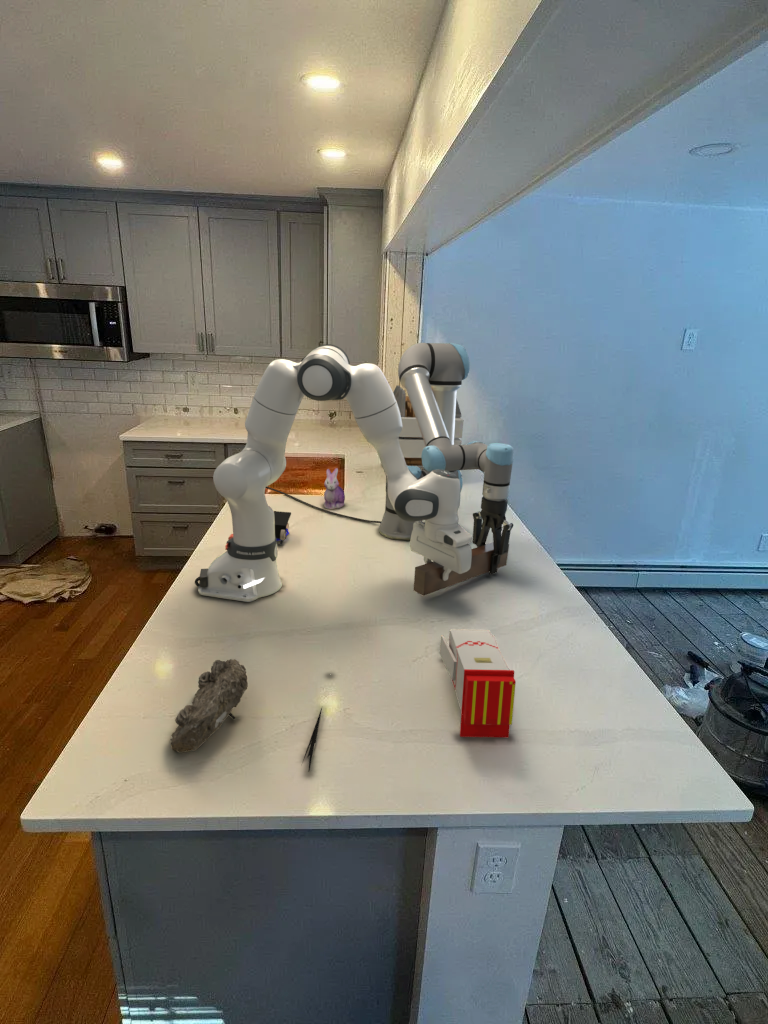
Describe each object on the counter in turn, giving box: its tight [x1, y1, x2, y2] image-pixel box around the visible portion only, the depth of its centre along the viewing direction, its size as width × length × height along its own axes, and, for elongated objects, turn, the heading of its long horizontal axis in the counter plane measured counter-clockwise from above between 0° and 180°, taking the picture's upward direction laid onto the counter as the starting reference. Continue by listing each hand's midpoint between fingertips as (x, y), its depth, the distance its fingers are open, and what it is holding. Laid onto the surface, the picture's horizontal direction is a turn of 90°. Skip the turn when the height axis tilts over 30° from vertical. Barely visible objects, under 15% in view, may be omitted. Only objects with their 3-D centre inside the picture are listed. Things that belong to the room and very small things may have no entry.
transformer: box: [393, 384, 464, 467], centre depth 268 cm, size 34×33×41 cm
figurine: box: [323, 467, 346, 510], centre depth 222 cm, size 9×10×15 cm
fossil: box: [170, 658, 249, 753], centre depth 106 cm, size 22×10×15 cm
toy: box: [438, 628, 517, 738], centre depth 117 cm, size 12×13×30 cm
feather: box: [301, 673, 332, 771], centre depth 108 cm, size 2×28×2 cm
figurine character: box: [273, 510, 292, 545], centre depth 190 cm, size 7×8×15 cm
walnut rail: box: [413, 541, 510, 597], centre depth 164 cm, size 36×4×7 cm, turn 131°
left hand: (437, 575), depth 157 cm, fingers closed on walnut rail, 4 cm apart
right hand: (486, 570), depth 172 cm, fingers closed on walnut rail, 4 cm apart
